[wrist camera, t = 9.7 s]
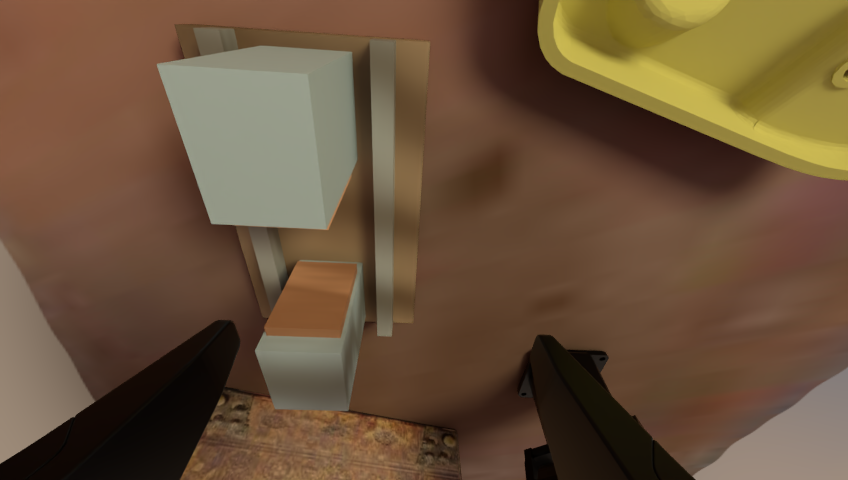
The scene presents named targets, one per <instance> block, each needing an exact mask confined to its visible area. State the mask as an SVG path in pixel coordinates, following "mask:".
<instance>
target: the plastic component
mask: <svg viewBox="0 0 848 480" xmlns="http://www.w3.org/2000/svg"><path fill="white" fill-rule="evenodd" d="M537 32H538V38H539V44H540V48H541V50H542V52H543V54H544V57H545V59H546V60H547V61H548V62H549V64H550V65H551V66H552V67H553V68H555V69H556V70H557V71H559V72H560V73H561V74H563V75H566V76H568V77H570V78H573V79H575V80H577V81H580V82H582V83H585V84H587V85H589V86H592V87H594V88H596V89H599V90H601V91H604V92H606V93H608V94H611V95H613V96H615V97H618V98H620V99H623V100H625V101H627V102H630V103H632V104H634V105H637V106H639V107H642V108H644V109H646V110H649V111H651V112H653V113H656V114H658V115H661V116H663V117H665V118H668V119H670V120H672V121H675V122H677V123H680V124H682V125H684V126H687V127H689V128H691V129H694V130H696V131H699V132H701V133H703V134H706V135H708V136H710V137H713V138H715V139H718V140H720V141H722V142H725V143H727V144H729V145H732V146H734V147H736V148H739V149H741V150H744V151H746V152H748V153H751V154H753V155H755V156H758V157H761V158H763V159H766V160H768V161H771V162H774V163H776V164H779V165H781V166H784V167H787V168H790V169H793V170H796V171H799V172H802V173H806V174H810V175H814V176H818V177H823V178H830V179H837V180H848V0H539V11H538V31H537ZM845 71H846V72H845Z"/></svg>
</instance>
